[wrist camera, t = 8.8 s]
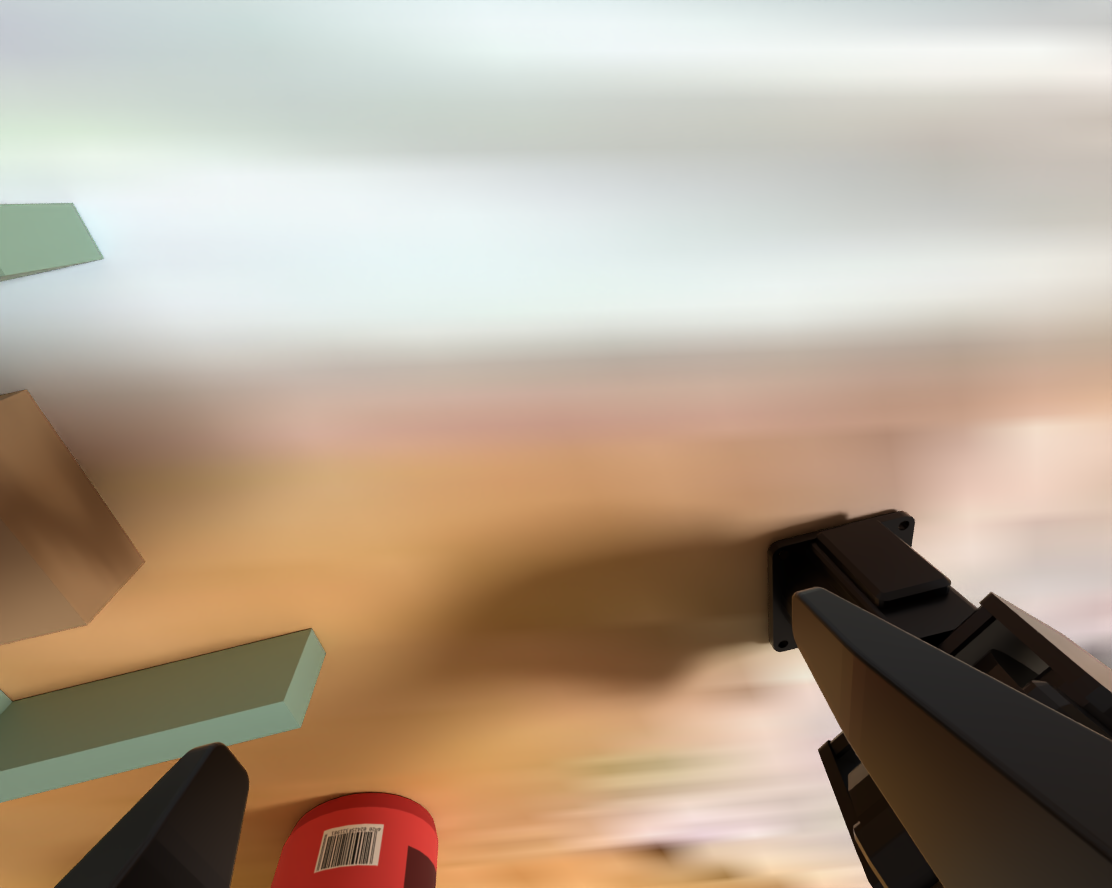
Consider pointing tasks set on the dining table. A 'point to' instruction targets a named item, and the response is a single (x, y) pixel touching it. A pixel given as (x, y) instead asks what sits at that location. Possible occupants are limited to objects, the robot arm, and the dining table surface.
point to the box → (151, 694)
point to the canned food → (361, 845)
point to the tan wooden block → (52, 531)
